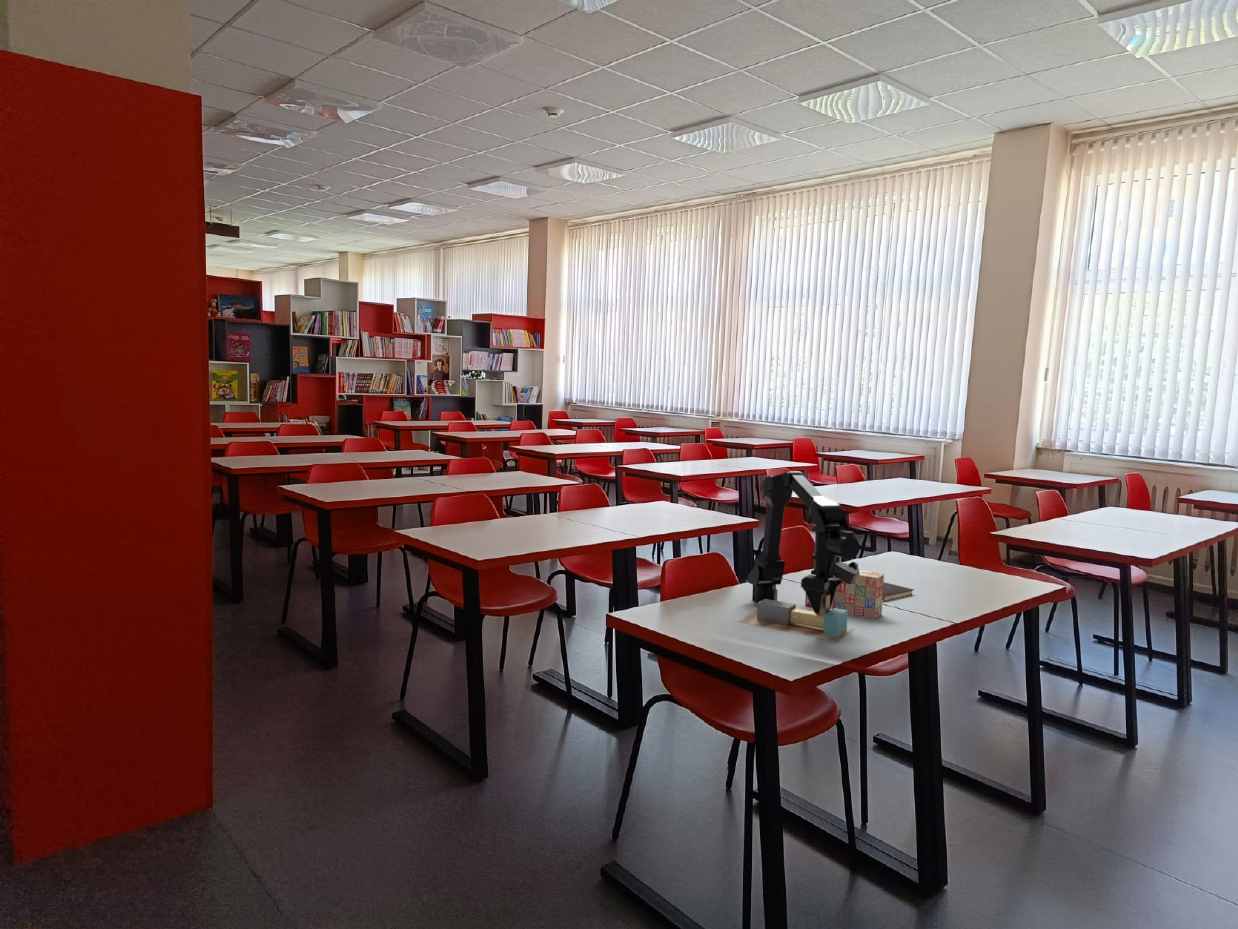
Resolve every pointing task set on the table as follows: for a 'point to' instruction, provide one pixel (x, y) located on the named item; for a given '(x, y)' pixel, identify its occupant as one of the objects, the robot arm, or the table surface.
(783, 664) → the table surface
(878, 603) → the stack of blocks
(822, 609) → the l-shaped wooden step
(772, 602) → the sleeve
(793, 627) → the base board
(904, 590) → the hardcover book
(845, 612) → the socket block
